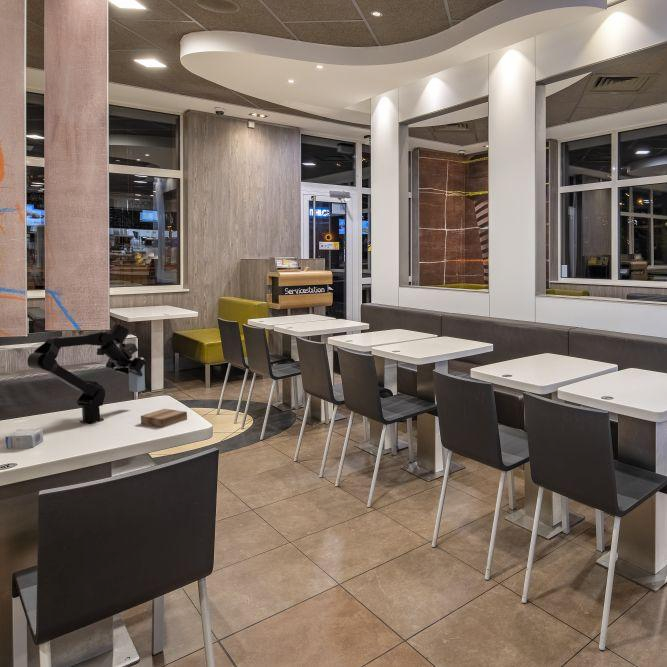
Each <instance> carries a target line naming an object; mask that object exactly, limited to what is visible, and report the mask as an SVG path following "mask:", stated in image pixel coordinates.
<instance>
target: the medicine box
mask: <svg viewBox="0 0 667 667" xmlns="http://www.w3.org/2000/svg"><path fill="white" fill-rule="evenodd" d="M43 441H44V434H43V429H42V428H25V429H24V428H23V429H22V428H21V429H17V430H15V431H13V432H11V433H9V434H8V435H6V436H5V445H6V449H7V450H8V449H9V450H10V449H11V450H12V449H31V448H32V449H33V448H34V447H36V446H37V445H38V444H40V443H42V442H43Z"/></svg>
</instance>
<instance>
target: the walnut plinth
mask: <svg viewBox="0 0 667 667" xmlns="http://www.w3.org/2000/svg"><path fill="white" fill-rule="evenodd" d="M187 420H188V412H187V411H185V410H184V411H183V410H178V409H177V410H176V409H170V408H163V409H159V410H156V411H152V412H149V413H146V414H142V415H140V424H141V425H148V426H153V427H160V428H167V427H168V426H171V425H174V424H178V423H181V422H183V421H187Z"/></svg>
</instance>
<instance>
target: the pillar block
mask: <svg viewBox="0 0 667 667" xmlns="http://www.w3.org/2000/svg"><path fill="white" fill-rule="evenodd" d="M128 370H129V367H128ZM129 371H130V370H129ZM141 372H142V374H143V375H142V377H140V376H138V375H135V374H132V373H130V372H129V375H128V391H129V392H132V393H133V392H134V393H139V392H142V391H146V381H145V380H146V378H145V374H146V373H145V364H144V365H143V367H142V368H141Z"/></svg>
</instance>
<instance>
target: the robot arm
mask: <svg viewBox="0 0 667 667" xmlns="http://www.w3.org/2000/svg"><path fill="white" fill-rule="evenodd" d="M130 333H131V332H130V330H129V329H128V328H126V327H124V326H123V325H121V324H120V323H115V324H114V325H113V327H112V329H111V330H110V332H107V331H105V330H104V331H102V330H92V331H89V332H86V333H83V334H80V335H79V334H77V335H66V336H50V337H48V338H47V339H46V340H45V341H44V343H42V344H41V345H39V346H38V347H36V349H35V350H34V351H33V352H32V353H30V354H29V355H28V357H27V367H29V368H31V369H33V370H36V371H38V372H39V371H40V372H43V373H46V374H48V375H51V376H52V377H54V378H56V379H58V380H60V381H61V382H63V383H64V384H66V385H68V386H69V387H71V388H73V389H74V390H76V391H77V393H78V394H79V397H78V399H77V401H76V403H77V405H78V407H81V413H82V414H81V415H82V420H79V423H82V422H83V424H88V425H89V424H94V423H97V422H101V421H104V420H105V418H102V417H101V412H100V411H101V408H100V407H102V406H103V405H104V400H105V398H106V389H105V388H104V385H101V384H99V383H98V382H97V381H95V380H84V379H82V378H80V377H79V376H77V375H75V374H74V373H72V372H71V371H69V370H67V369H66V368H64V367H63V366H61V365H60V364H59V363H58V361H57V357H58V355H59V352H60V350H61V348H67V347H69V348H70V347H77V346H85V345H87V346H99V348H97V349H96V356H106V357H107V358H108V359H107V361H106V364H105V368H106V369H107V370H108V371H115V372H118V373H122V374H125V375H128V376H129V372H130V373H132V374H135V375H138V376H140V377H142V375H143V374H142V372H141V368H142V367H143V365H144V366H145V364H146V362H147V360H146V358H144V357H138V356H137V357H134V359H132V358H133V355H134V354H135V353H137V352H138V351H139V349H138V347H137V345H136V343H135V342H134V343H133V342H132V343H131V342H130V343H124V341H126V339H127V337H128V336H129V334H130ZM118 345H119V346H118ZM128 367H129V370H130V371H129V370H128Z"/></svg>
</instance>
